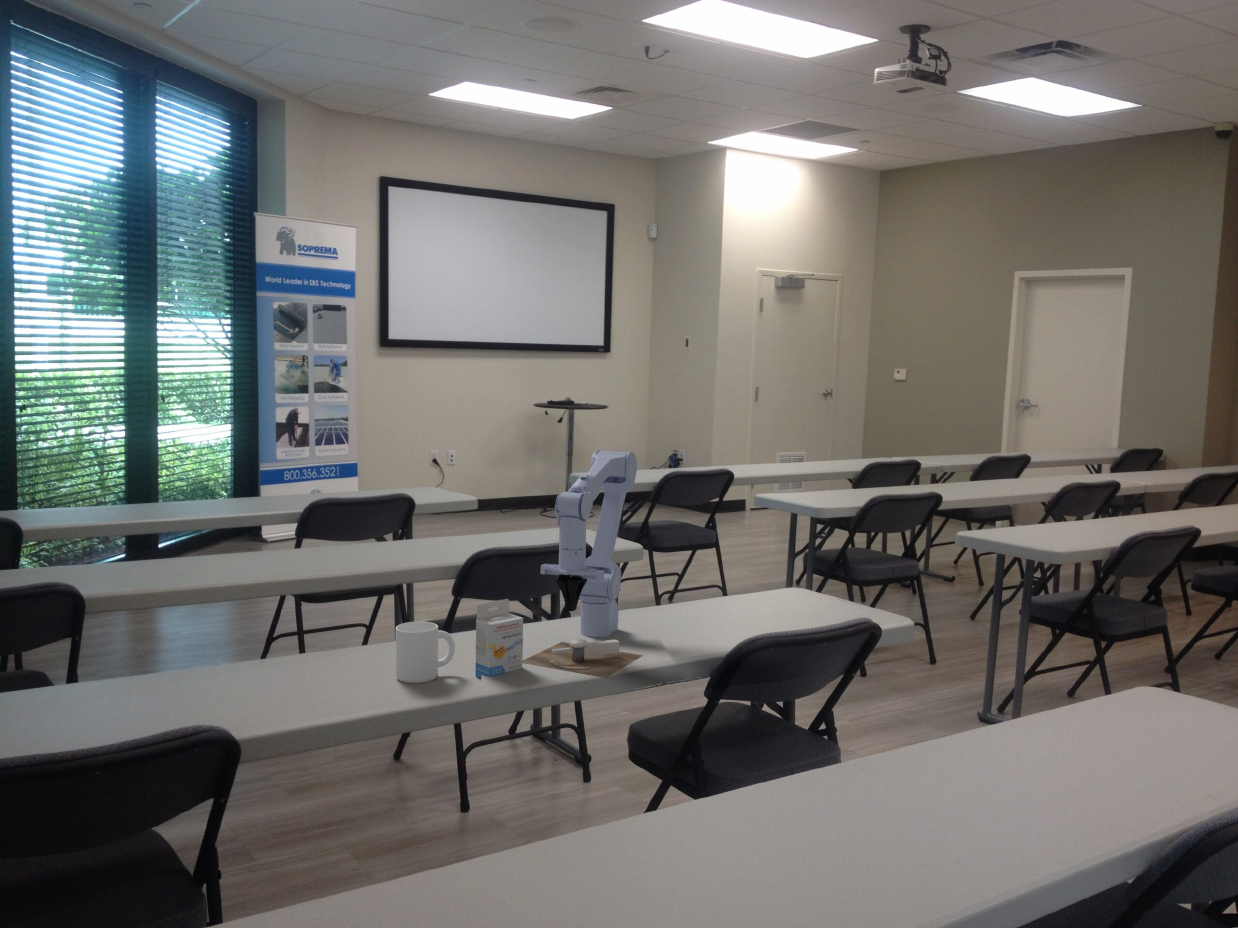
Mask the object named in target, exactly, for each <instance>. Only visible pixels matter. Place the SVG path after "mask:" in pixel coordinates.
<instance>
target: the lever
mask: <svg viewBox="0 0 1238 928" xmlns="http://www.w3.org/2000/svg"><path fill="white" fill-rule="evenodd" d="M569 643H570V646H571V648H562V649H553V650H552V653H561V652H570V651H572V661H573V662H583V661H584V657H587V656H596V655H605V654H614V653H619V651H620V641H619V640H618V639H609V640H598V641H590V642H588V640H586V639H583V638H581V639H580V638H574V639H571V640H569Z"/></svg>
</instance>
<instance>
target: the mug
mask: <svg viewBox="0 0 1238 928" xmlns="http://www.w3.org/2000/svg"><path fill="white" fill-rule="evenodd" d="M439 639H444V640H445V641H446V642H447V645H448V647H447V648H448V651H447V653H446V655H445V656H444V657H443V658H442V659H441V658H440V659H439ZM455 651H456V643H455V640H454V638H453V636H452V635H451V634H450V633H449V632H447V631H444V630H441V629H440V630H439V625H438V624H436V623H434V622H429V621H409V622H404V623H400V624H398V625H396V626H395V676H396V678H397V680H398V682H399V681H400V682H402V683H404V684H405V683H406V684H424V683H428V682H432V681H434V680H435V679H436V678H438V675H439V668H442V667H444V666H446V665H448V664H449V663H450V662H451V661H452V659H453V657H454V655H455Z"/></svg>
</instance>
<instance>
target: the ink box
mask: <svg viewBox="0 0 1238 928" xmlns="http://www.w3.org/2000/svg"><path fill="white" fill-rule="evenodd" d="M492 607H498V608H497V609H493V610H491V609H490V608H492ZM488 609H490V610H488ZM509 610H510V599H508V598H505V599H499V600H494V601H489V602H488V601H487V602H484V603H478V605H476V619H475V677H476V678H479V679H482V675H484V676H488V677H493V676H495V675H496V676H497V675H501V674H504V673H509V672H512V671H513V672H514V671H517V670H520V669H523V663H522V661H523V660H524V659H523V656H524V653H523V652H524V649H523V648H524V617H521V616H519V615H515V614H512V613H509Z"/></svg>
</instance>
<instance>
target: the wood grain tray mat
mask: <svg viewBox="0 0 1238 928" xmlns="http://www.w3.org/2000/svg"><path fill="white" fill-rule="evenodd" d="M562 648H571V646H570V642H565V641H560V642H558V643H556V644H554V645H552V646H550V647H547V648H546V649H544V650H542V651H540V652H538V653H536V654H533V655H531V656H529V657H527V658H525V659H522V664H526V665H532V666H538V667H542V668H549V669H553V670H559V671H565V672H571V673H576V674H582V675H587V676H591V677H598V678H604V679H606V678H608V677H609V676H611V675H613V674H614V673H616V672H618V671H620V670H621V669H623V668H624V667H626V666H628V665H629V664H631V663H633V662H634V661H635V662H636V660H638V659H640V658H642V657H643V656H644V655H643V654H639V653H638V654H636V653H632V652H625V651H620V650H619V653H614V654H605V655H596V656H587V657H584V661H583V662H573V661H572V651H570V652H561V653H552V650H553V649H562Z"/></svg>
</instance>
